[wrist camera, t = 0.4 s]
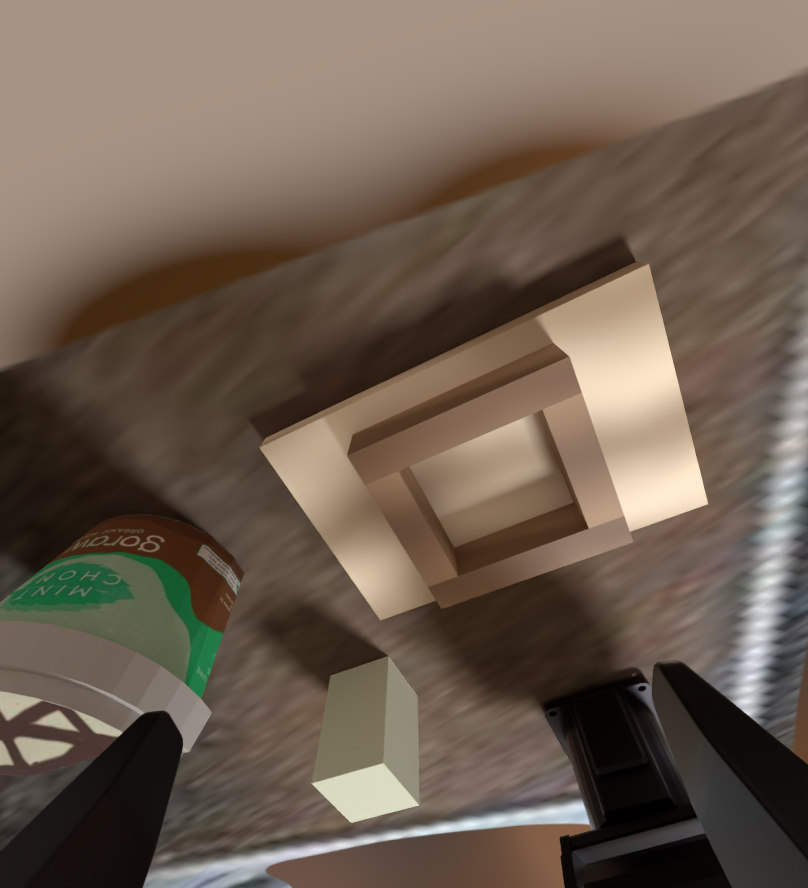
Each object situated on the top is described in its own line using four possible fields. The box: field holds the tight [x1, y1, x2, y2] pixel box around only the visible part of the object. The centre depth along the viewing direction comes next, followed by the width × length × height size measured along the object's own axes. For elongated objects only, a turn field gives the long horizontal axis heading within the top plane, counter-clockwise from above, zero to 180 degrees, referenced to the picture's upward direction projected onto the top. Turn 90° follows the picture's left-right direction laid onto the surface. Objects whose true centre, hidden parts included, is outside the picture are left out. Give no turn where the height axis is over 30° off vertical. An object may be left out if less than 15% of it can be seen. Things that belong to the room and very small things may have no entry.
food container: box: [0, 514, 244, 775], centre depth 19 cm, size 12×6×10 cm, turn 104°
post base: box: [259, 262, 708, 620], centre depth 20 cm, size 12×17×3 cm
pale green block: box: [312, 656, 419, 823], centre depth 26 cm, size 4×4×6 cm
